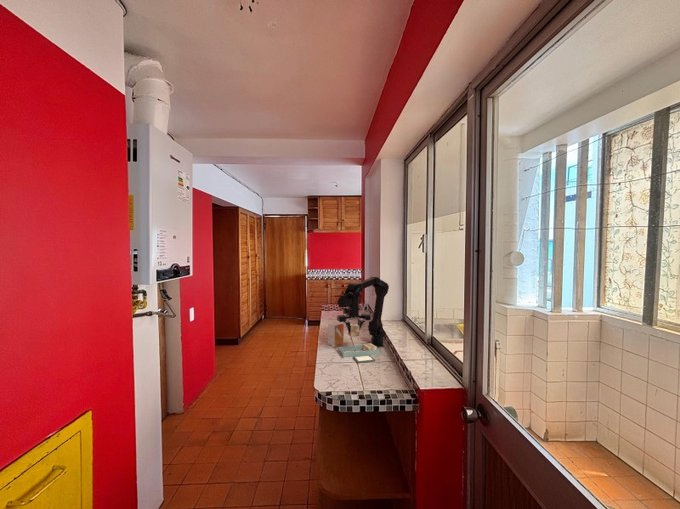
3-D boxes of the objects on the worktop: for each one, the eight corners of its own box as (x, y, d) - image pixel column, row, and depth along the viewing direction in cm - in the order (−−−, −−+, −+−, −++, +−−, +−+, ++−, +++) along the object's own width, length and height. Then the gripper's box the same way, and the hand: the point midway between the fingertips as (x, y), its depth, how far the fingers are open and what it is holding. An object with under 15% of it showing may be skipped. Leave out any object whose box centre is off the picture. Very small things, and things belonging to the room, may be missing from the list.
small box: (334, 346, 188) (334, 325, 188) (327, 344, 193) (327, 323, 192) (343, 343, 194) (344, 323, 193) (337, 341, 198) (337, 321, 198)
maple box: (370, 349, 183) (370, 343, 183) (376, 353, 176) (376, 346, 176) (362, 350, 181) (363, 344, 181) (368, 354, 174) (368, 347, 174)
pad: (369, 356, 171) (369, 355, 171) (375, 361, 163) (375, 359, 163) (352, 358, 168) (352, 356, 168) (357, 363, 160) (357, 361, 160)
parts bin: (372, 348, 185) (372, 344, 185) (379, 354, 175) (379, 349, 175) (337, 351, 179) (337, 347, 179) (343, 357, 168) (343, 353, 168)
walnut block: (356, 333, 178) (356, 323, 178) (359, 336, 174) (359, 325, 174) (348, 334, 177) (348, 324, 177) (350, 336, 172) (351, 326, 172)
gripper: (364, 302, 185) (364, 328, 186) (334, 303, 180) (334, 330, 180) (371, 305, 175) (370, 333, 175) (339, 307, 170) (339, 335, 170)
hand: (353, 332), depth 175 cm, fingers closed on walnut block, 5 cm apart
